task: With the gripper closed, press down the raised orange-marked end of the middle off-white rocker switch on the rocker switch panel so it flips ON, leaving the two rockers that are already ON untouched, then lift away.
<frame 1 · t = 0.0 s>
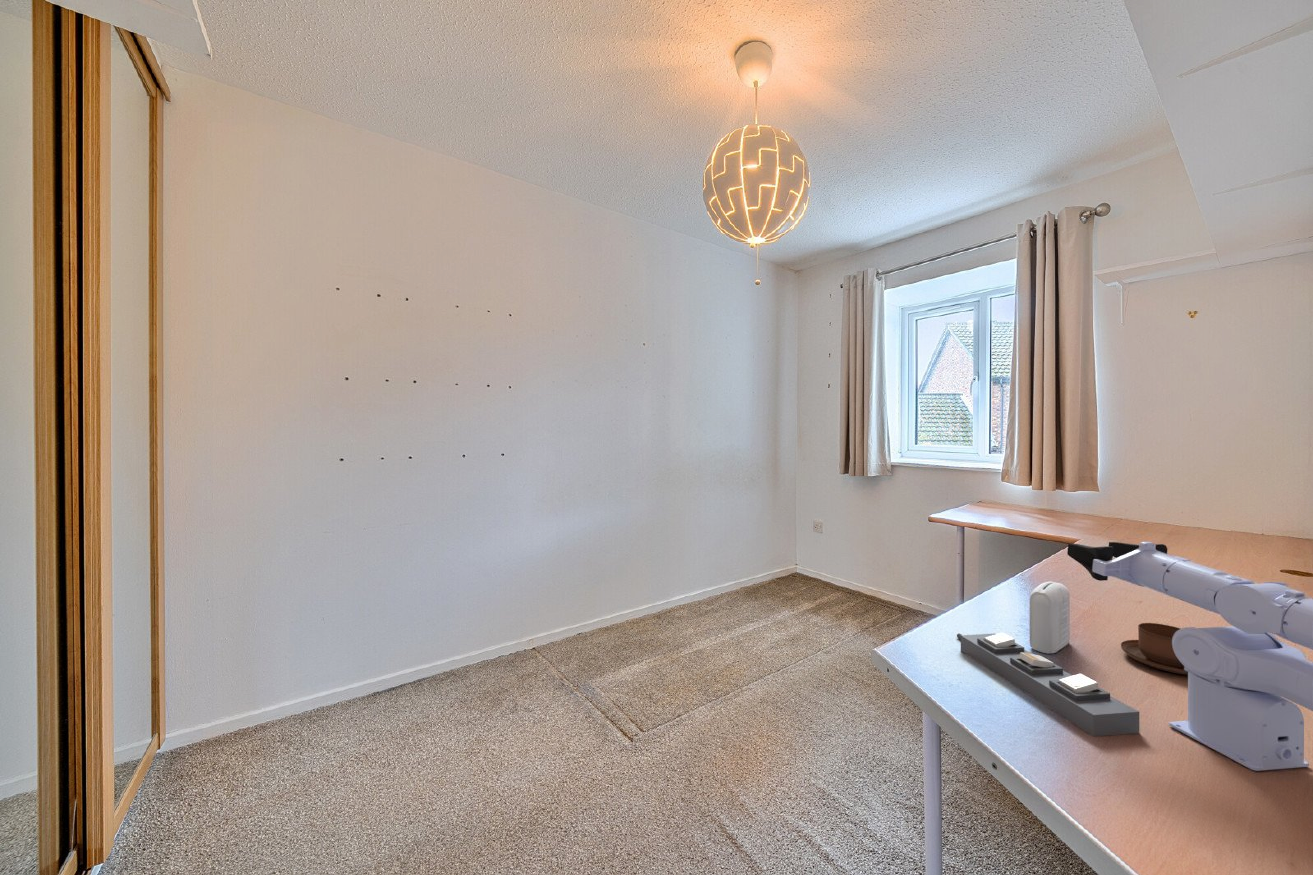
hand: (1089, 548, 84), 22 cm above the table, tool horizontal, fingers open, 7 cm apart
rocker 2: (1078, 683, 73), point 4 cm above the table, hinge at -12.0°
rocker switch panel: (1036, 685, 80), on the table
middle rocker: (1036, 660, 80), point 4 cm above the table, hinge at 12.0°
rocker 1: (999, 640, 88), point 4 cm above the table, hinge at -12.0°
cup and saucer: (1167, 666, 87), on the table
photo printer: (1049, 646, 94), on the table
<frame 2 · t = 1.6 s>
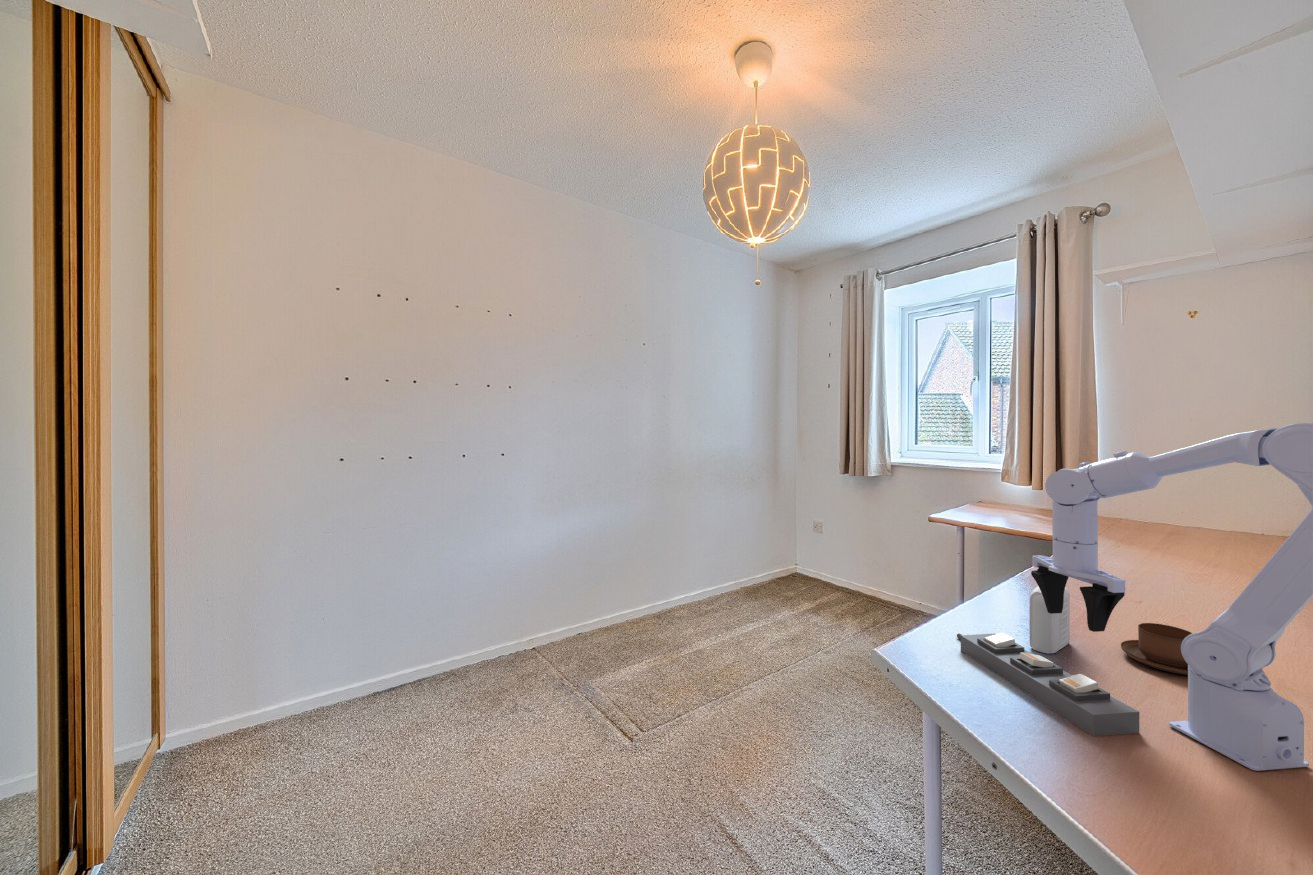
hand: (1074, 621, 81), 10 cm above the table, tool pointing down, fingers open, 7 cm apart
nothing on the table moved.
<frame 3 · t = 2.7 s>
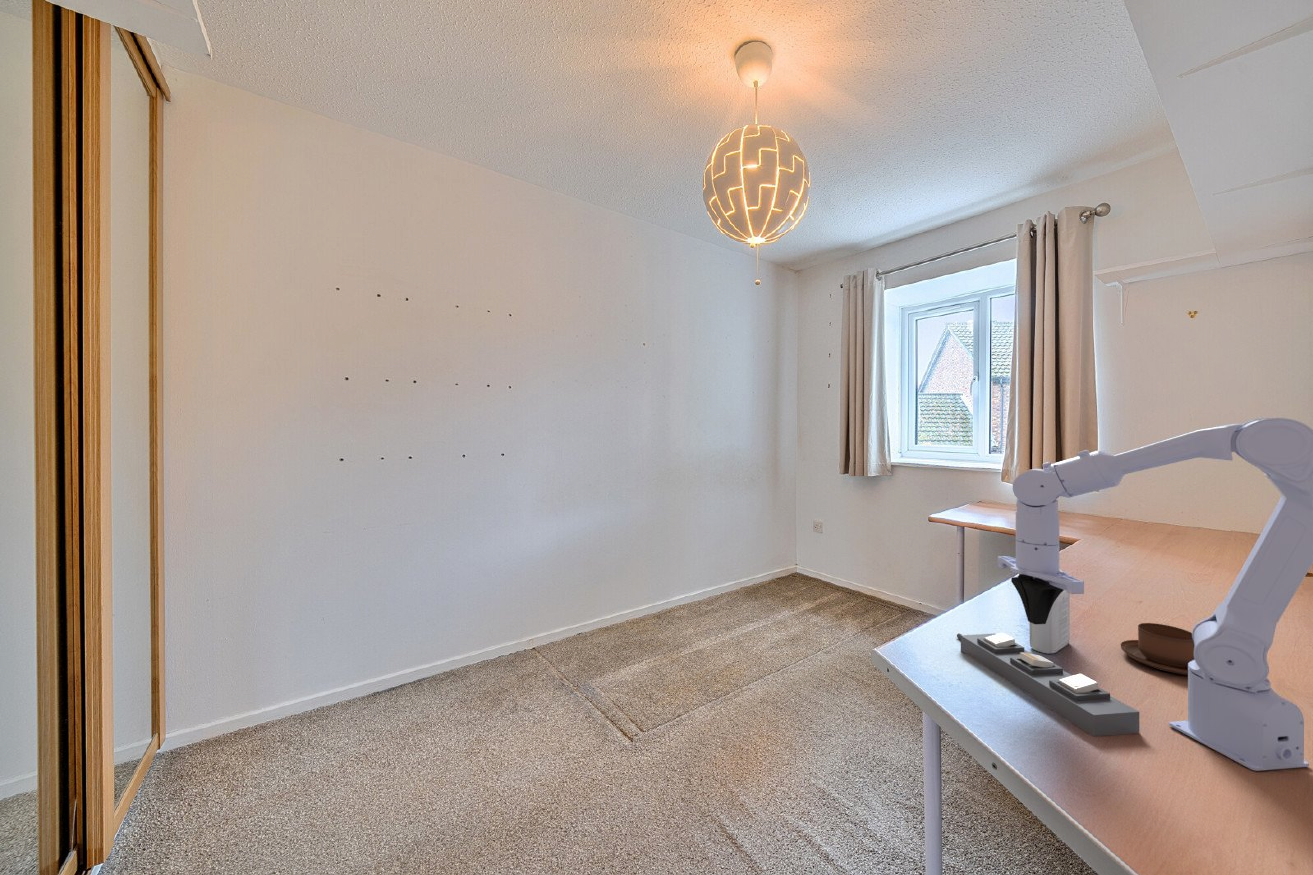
hand: (1036, 622, 80), 10 cm above the table, tool pointing down, fingers closed
nothing on the table moved.
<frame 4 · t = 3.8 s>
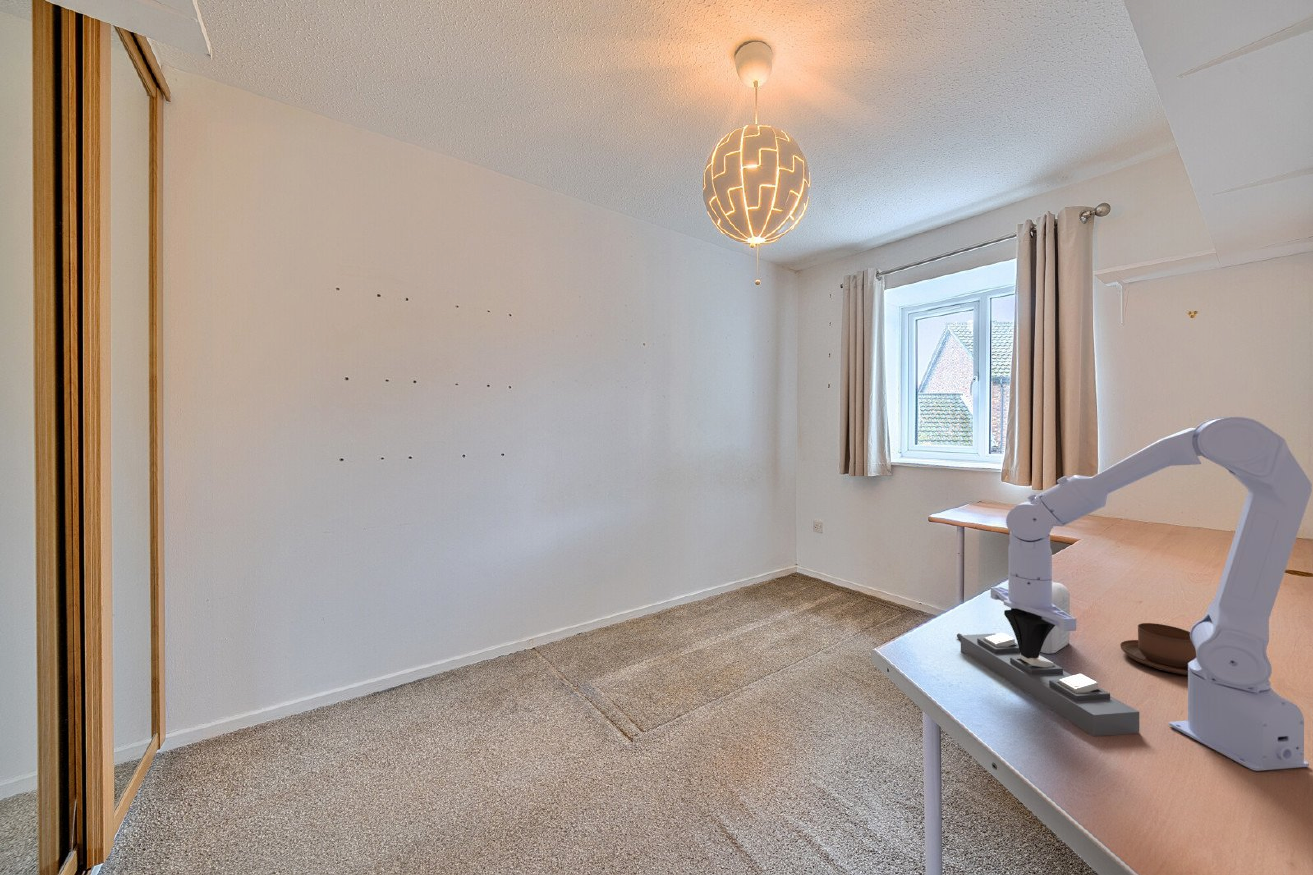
hand: (1029, 656, 80), 5 cm above the table, tool pointing down, fingers closed, pressing on middle rocker
middle rocker: (1036, 660, 80), point 4 cm above the table, hinge at 12.0°, touching gripper
everything else where it was.
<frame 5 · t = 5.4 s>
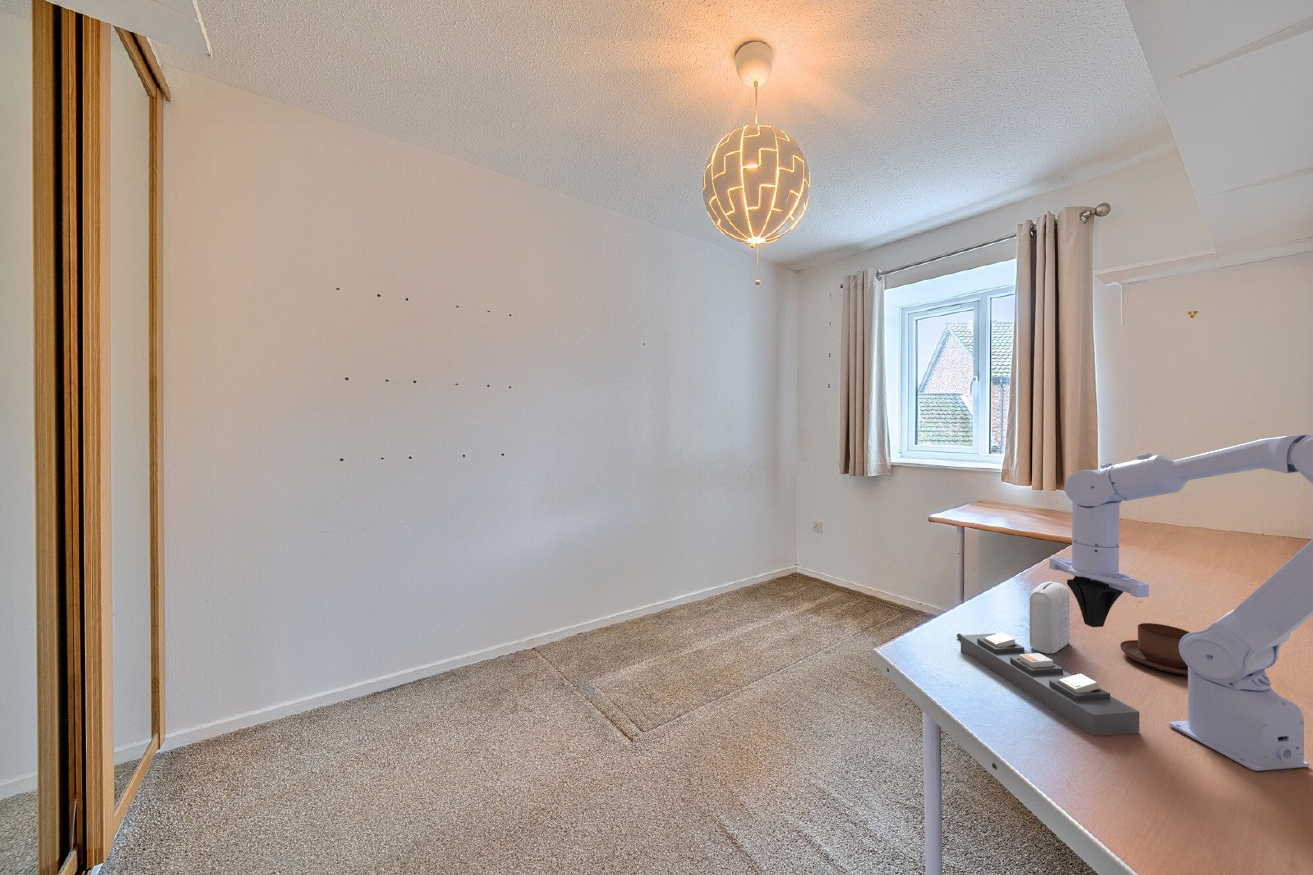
hand: (1094, 625, 79), 10 cm above the table, tool pointing down, fingers closed
middle rocker: (1035, 660, 80), point 4 cm above the table, hinge at -1.2°
everything else where it was.
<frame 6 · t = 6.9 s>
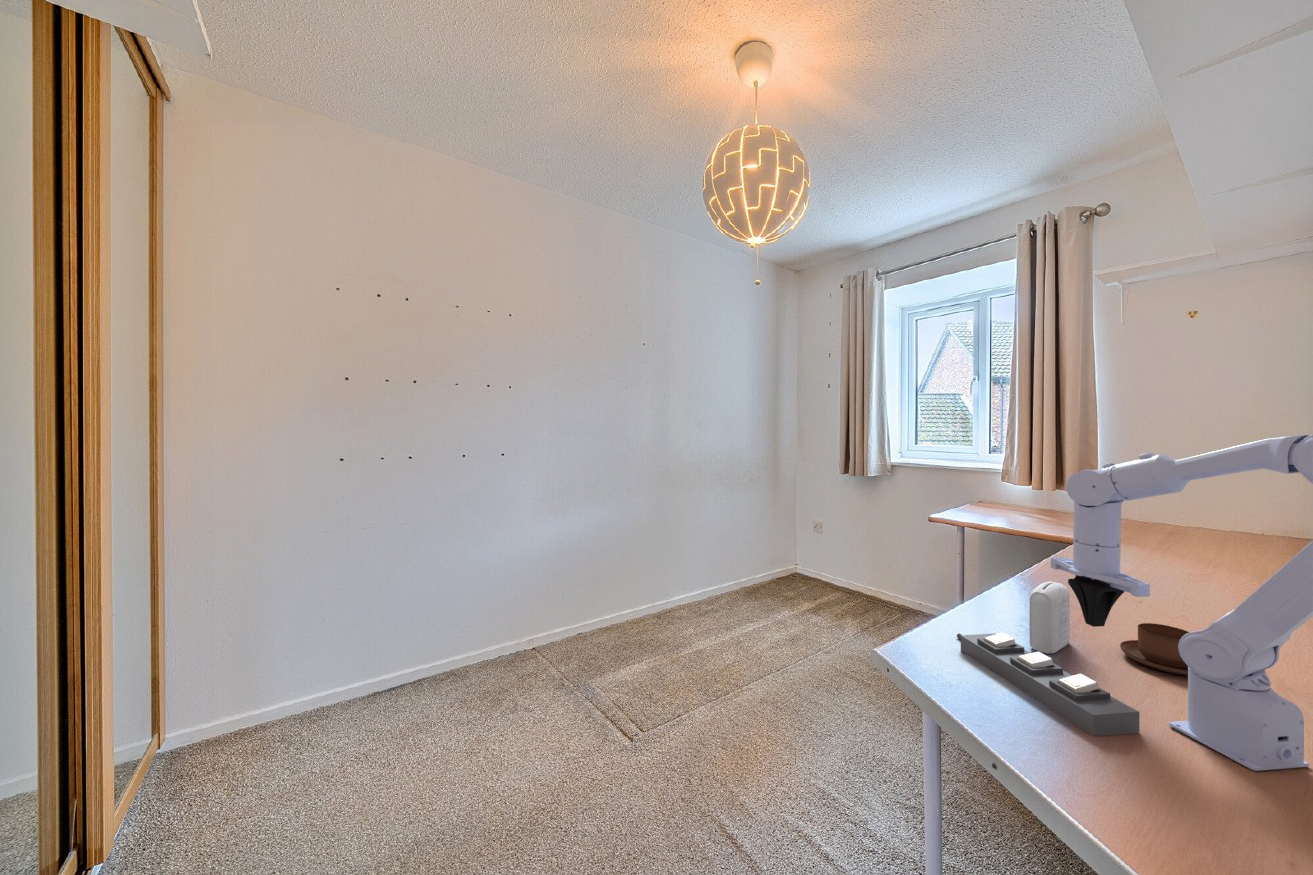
hand: (1094, 624, 79), 10 cm above the table, tool pointing down, fingers closed
middle rocker: (1035, 660, 80), point 4 cm above the table, hinge at -9.3°
everything else where it was.
at the end: middle rocker at -9° (first picture: +12°); rocker 2 at -12° (first picture: -12°); rocker 1 at -12° (first picture: -12°) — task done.
